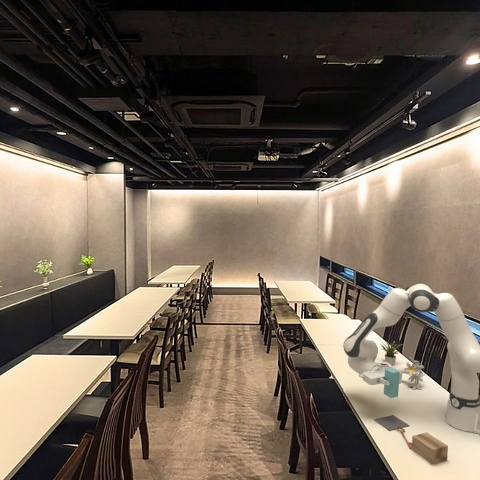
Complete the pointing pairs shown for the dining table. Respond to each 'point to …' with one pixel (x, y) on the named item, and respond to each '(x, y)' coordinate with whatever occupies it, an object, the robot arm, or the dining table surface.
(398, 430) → the key
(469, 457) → the dining table surface
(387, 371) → the tall teal pillar
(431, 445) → the block
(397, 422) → the mat
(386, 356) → the house plant
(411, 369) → the flower vase
